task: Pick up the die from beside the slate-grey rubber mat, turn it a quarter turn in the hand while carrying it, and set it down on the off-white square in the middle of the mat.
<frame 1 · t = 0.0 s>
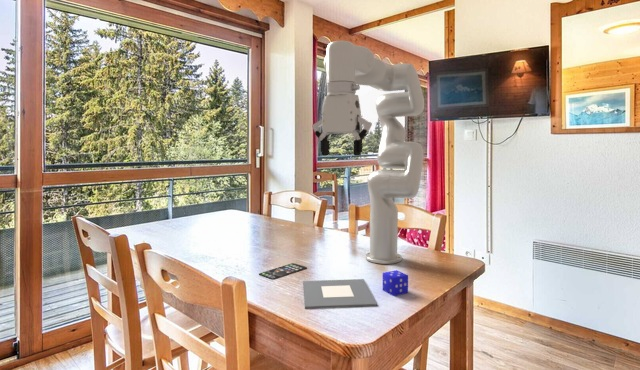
hand: (341, 155, 102), 37 cm above the table, tool pointing down, fingers open, 9 cm apart
die: (395, 292, 104), on the table
smartphone: (283, 273, 122), on the table
mat: (337, 293, 103), on the table
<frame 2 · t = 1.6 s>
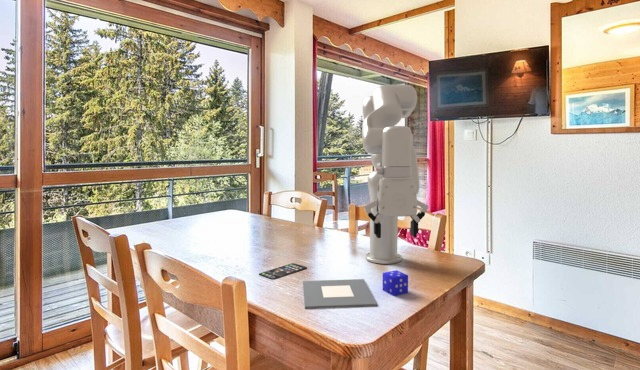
hand: (395, 236, 102), 15 cm above the table, tool pointing down, fingers open, 9 cm apart
nothing on the table moved.
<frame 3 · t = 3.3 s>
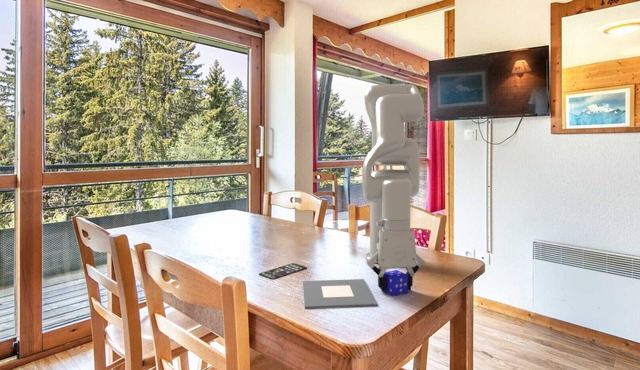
hand: (395, 288, 104), 1 cm above the table, tool pointing down, fingers closed on die, 6 cm apart
die: (395, 292, 104), on the table, touching gripper
everything else where it was.
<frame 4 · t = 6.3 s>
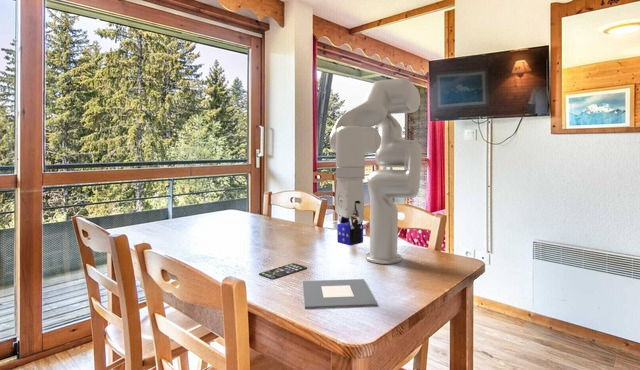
hand: (350, 239, 102), 15 cm above the table, tool pointing down, fingers closed on die, 6 cm apart
die: (350, 243, 102), point 14 cm above the table, touching gripper
everything else where it was.
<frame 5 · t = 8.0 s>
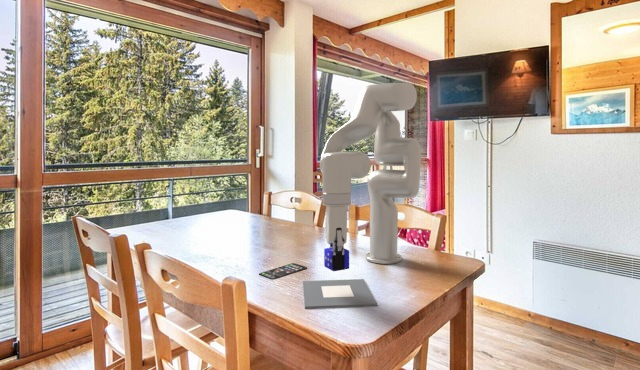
hand: (336, 264, 102), 8 cm above the table, tool pointing down, fingers closed on die, 6 cm apart
die: (336, 268, 102), point 7 cm above the table, touching gripper
everything else where it was.
when the fingers open (3 cm above the table, at t = 9.5 s): die drops 1 cm, resting on mat.
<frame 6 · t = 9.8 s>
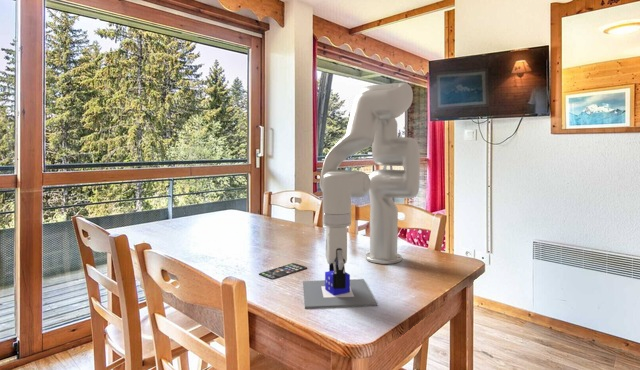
hand: (337, 281, 102), 3 cm above the table, tool pointing down, fingers open, 9 cm apart
die: (337, 291, 103), resting on mat
everything else where it was.
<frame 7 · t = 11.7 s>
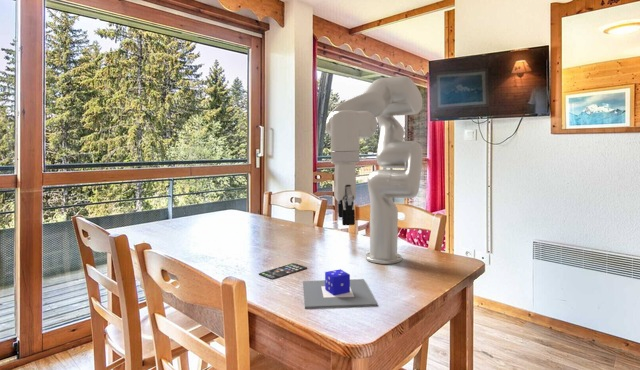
hand: (346, 220, 103), 20 cm above the table, tool pointing down, fingers open, 9 cm apart
nothing on the table moved.
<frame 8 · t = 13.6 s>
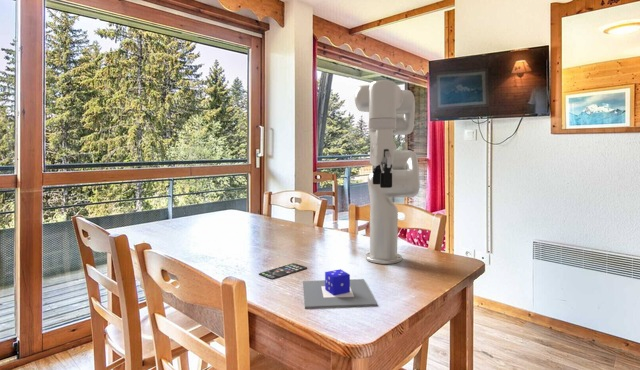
hand: (381, 185, 109), 28 cm above the table, tool pointing down, fingers open, 9 cm apart
nothing on the table moved.
at the end: die inside the target area on the mat (0.2 cm from its centre), point 0.4 cm above the mat's base; die tilted 0°; the gripper is holding nothing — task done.
